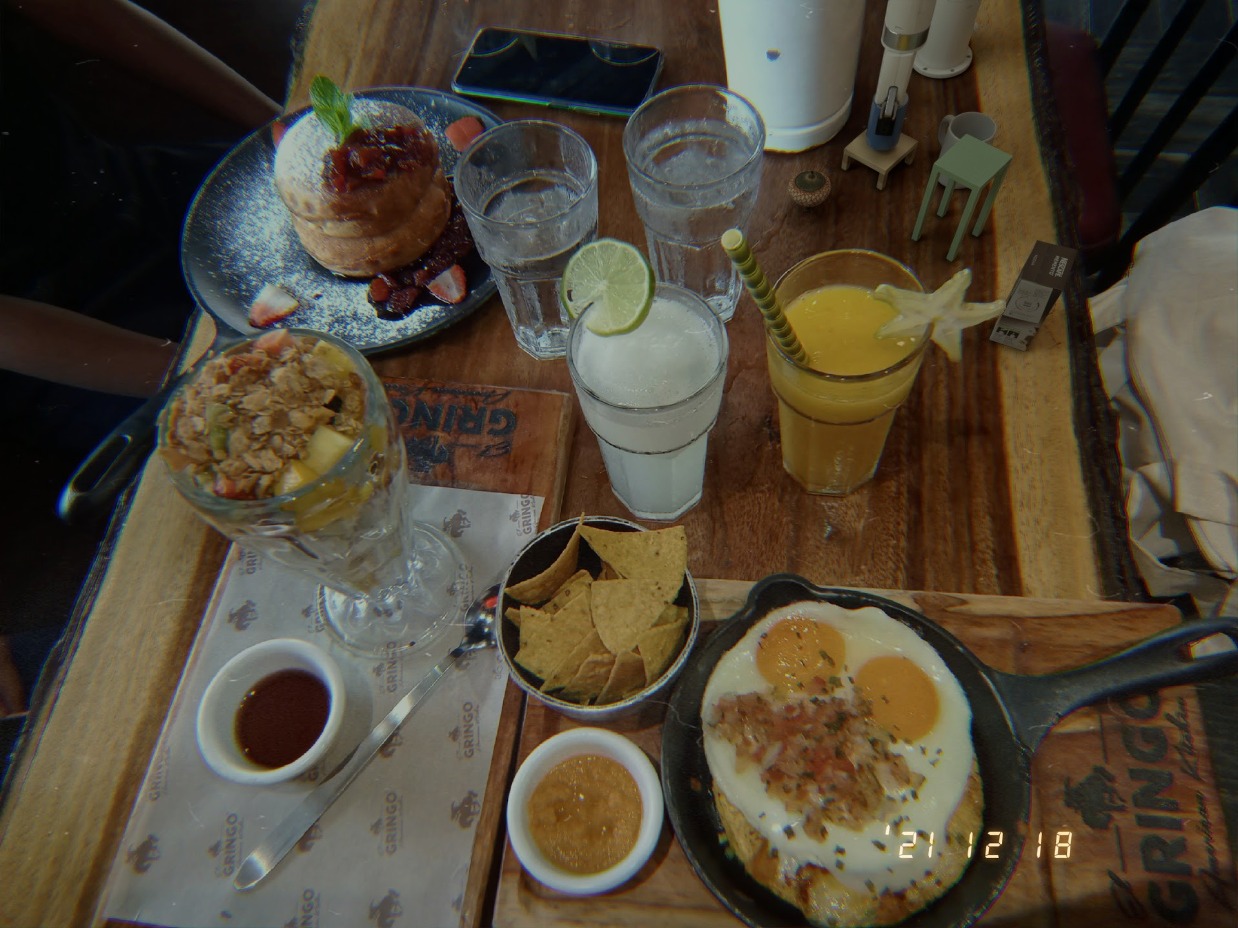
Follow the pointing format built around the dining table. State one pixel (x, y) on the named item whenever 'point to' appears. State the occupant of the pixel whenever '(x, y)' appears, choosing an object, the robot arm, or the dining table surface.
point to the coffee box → (1034, 294)
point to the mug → (964, 133)
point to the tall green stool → (965, 184)
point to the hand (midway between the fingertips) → (886, 120)
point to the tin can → (891, 141)
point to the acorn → (809, 188)
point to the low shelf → (879, 155)
